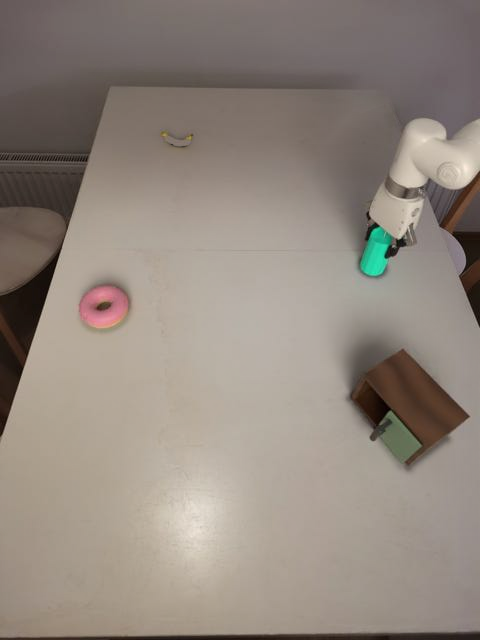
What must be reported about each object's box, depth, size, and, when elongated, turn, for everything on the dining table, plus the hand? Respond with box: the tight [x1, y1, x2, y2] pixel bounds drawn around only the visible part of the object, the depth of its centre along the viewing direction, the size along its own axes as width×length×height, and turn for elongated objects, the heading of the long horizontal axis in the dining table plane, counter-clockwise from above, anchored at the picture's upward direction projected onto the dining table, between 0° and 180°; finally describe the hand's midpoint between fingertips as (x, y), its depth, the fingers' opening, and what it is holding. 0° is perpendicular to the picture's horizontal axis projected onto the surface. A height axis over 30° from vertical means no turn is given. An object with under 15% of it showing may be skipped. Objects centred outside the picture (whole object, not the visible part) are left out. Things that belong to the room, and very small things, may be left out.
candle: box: [359, 226, 392, 277], centre depth 102 cm, size 6×6×12 cm
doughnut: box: [77, 284, 130, 329], centre depth 96 cm, size 11×11×4 cm
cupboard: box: [350, 348, 471, 467], centre depth 80 cm, size 10×16×10 cm, turn 33°
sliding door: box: [368, 410, 422, 464], centre depth 76 cm, size 4×7×9 cm, turn 33°
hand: (380, 246), depth 101 cm, fingers closed on candle, 6 cm apart
